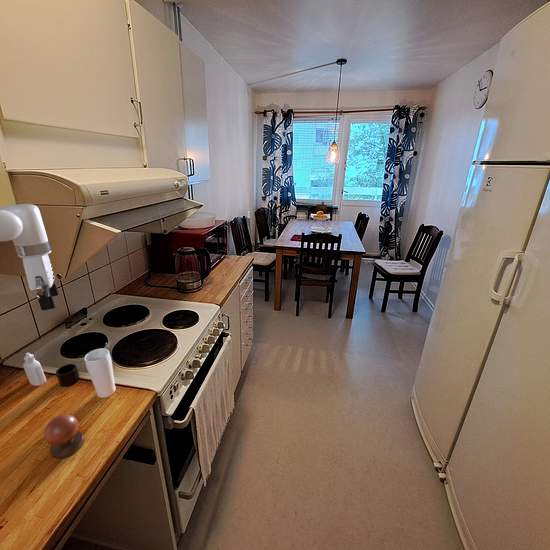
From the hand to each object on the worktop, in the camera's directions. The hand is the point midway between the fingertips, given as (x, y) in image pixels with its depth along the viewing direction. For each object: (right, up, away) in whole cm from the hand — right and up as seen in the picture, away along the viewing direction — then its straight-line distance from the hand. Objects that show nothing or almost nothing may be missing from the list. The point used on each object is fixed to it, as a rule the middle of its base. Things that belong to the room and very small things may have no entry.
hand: (50, 302), depth 87 cm
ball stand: (+14, -37, -12) cm, 41 cm away
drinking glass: (+14, -30, +5) cm, 34 cm away
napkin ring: (-1, -28, +10) cm, 30 cm away
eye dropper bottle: (-11, -28, +9) cm, 32 cm away
